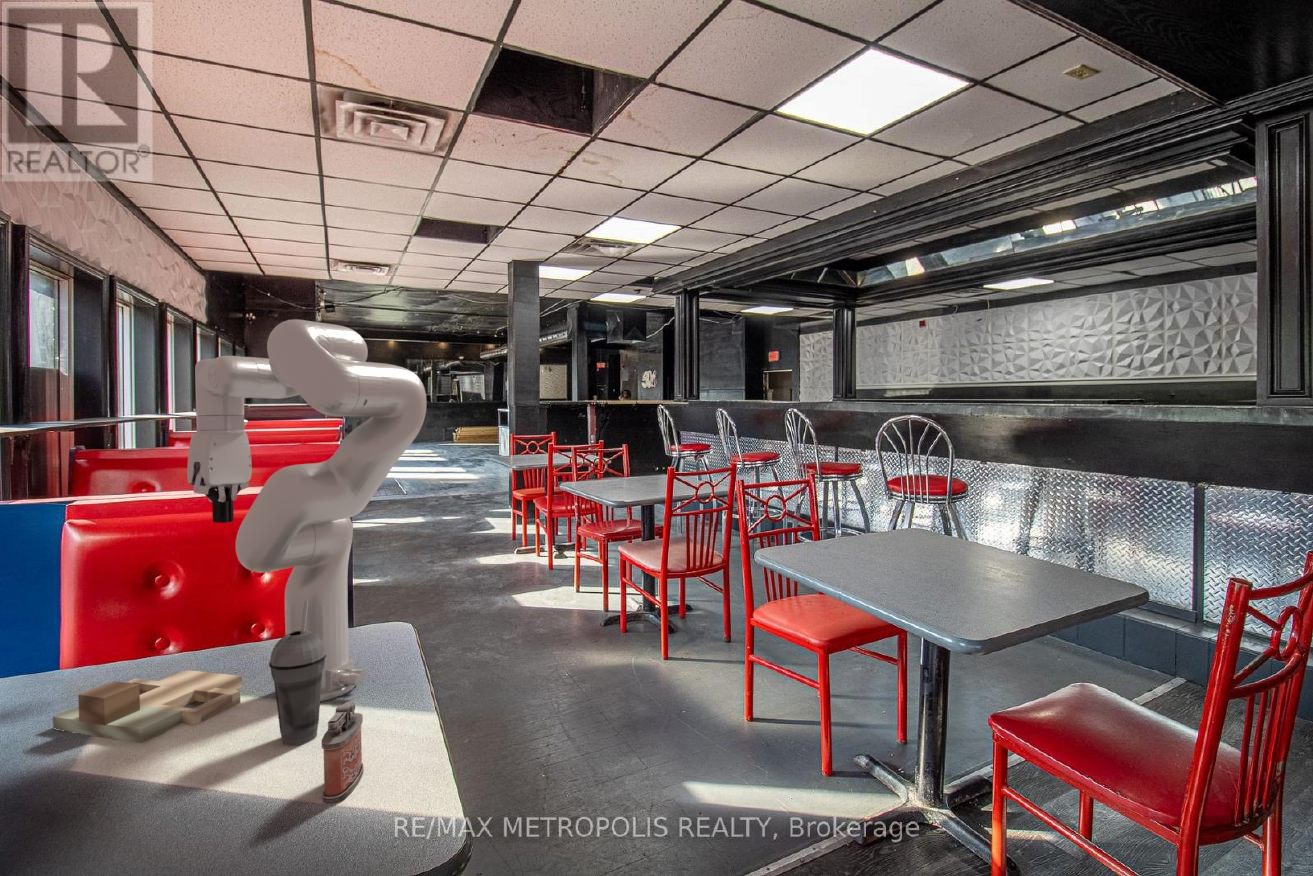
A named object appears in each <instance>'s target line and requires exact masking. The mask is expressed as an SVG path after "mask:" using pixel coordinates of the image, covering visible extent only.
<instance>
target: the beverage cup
mask: <svg viewBox="0 0 1313 876" xmlns="http://www.w3.org/2000/svg"><path fill="white" fill-rule="evenodd" d="M307 608H308V601H304V608H303V617H302V625H301V631H294V632H291V633H289V634H287V635H286V634H285V635H283V636H282V637H281V638H280V639H279V640H278V641H277V642H276V643H275V645H274V647H273V649H272V651H271V654H270V660H269V663H268V666H269V668H270V673H271V677H272V680H273V682H274V683H273V684H274V689H275V690H274V691H275V700H276V708H277V716H278V723H279V732H280V736H281V743H282V744H283V745H284V746H300V745H304V744H306V743H308V742H312V741H313V740H314V739H316V737H317V736H318V728H319V721H320V710H321V709H320V707H321V701H320V696H321V683H322V671H323V669H324V664H325V658H326V654H325V650H324V646H323V644H322V642H321V640H320V639H319V637H317V636H316V635H315V634H313V633H311V632H308V631H305V625H306V617H307Z"/></svg>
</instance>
